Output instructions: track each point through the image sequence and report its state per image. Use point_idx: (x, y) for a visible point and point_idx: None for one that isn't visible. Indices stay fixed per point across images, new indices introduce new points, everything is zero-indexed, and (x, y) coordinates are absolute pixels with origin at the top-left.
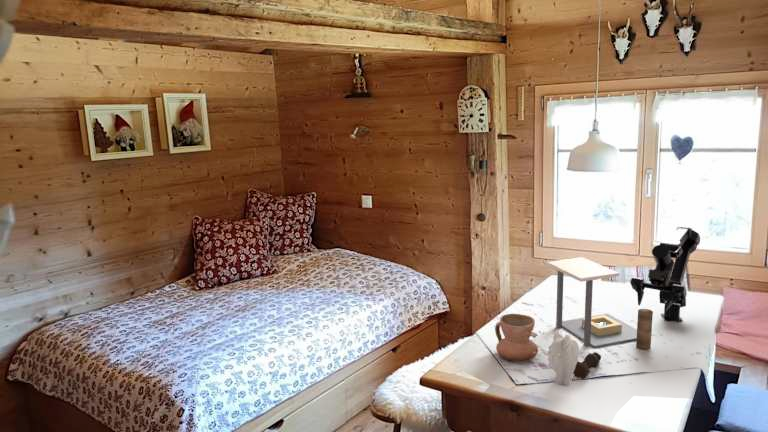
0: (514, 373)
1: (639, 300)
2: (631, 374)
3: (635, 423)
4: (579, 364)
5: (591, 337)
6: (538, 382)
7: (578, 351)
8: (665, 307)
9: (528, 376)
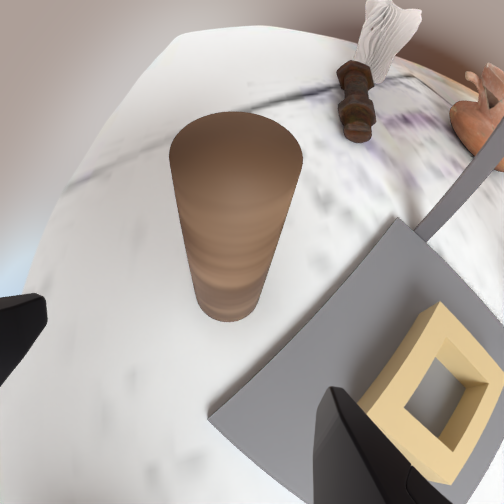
0: (437, 98)
1: (347, 414)
2: (251, 107)
3: (232, 28)
4: (360, 63)
5: (432, 285)
6: (395, 78)
7: (364, 23)
8: (23, 299)
9: (417, 91)
